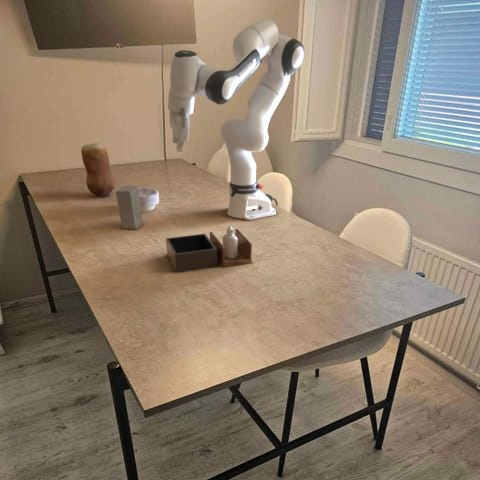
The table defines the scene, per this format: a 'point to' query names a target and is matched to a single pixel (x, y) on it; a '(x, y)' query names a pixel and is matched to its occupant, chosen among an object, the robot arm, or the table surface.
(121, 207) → the cosmetic box
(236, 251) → the eye dropper bottle
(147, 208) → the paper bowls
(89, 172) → the butternut squash
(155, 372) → the table surface
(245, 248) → the wooden shelf
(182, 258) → the dark grey open box
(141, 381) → the table surface
